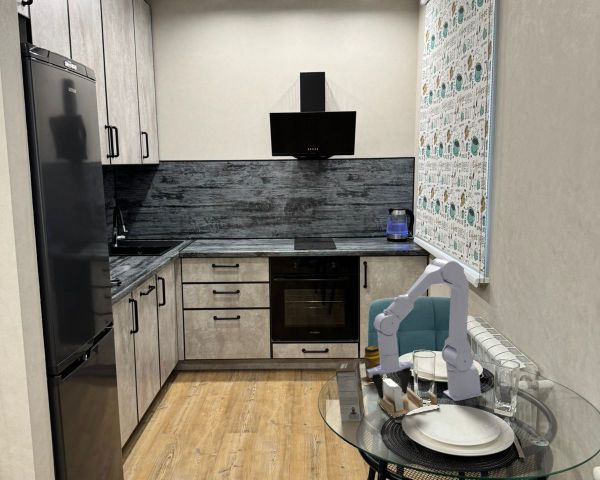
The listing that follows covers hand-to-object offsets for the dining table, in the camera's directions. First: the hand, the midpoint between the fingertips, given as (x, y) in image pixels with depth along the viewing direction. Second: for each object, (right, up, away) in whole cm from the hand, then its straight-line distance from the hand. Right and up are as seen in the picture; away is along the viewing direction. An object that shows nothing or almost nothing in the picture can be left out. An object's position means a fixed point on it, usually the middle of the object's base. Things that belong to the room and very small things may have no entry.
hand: (392, 395), depth 172 cm
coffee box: (-12, -6, 0) cm, 14 cm away
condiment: (-3, -2, +26) cm, 27 cm away
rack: (+5, -4, +2) cm, 7 cm away
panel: (0, -3, 0) cm, 3 cm away
